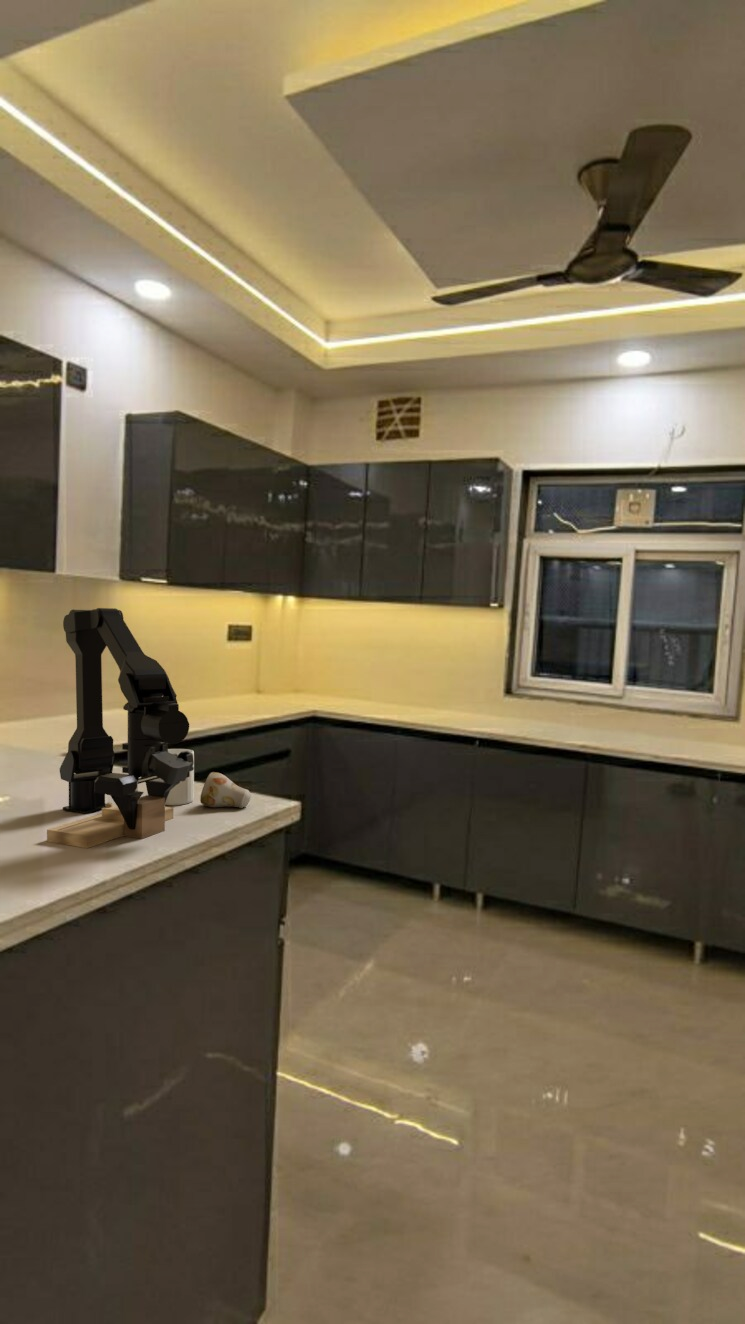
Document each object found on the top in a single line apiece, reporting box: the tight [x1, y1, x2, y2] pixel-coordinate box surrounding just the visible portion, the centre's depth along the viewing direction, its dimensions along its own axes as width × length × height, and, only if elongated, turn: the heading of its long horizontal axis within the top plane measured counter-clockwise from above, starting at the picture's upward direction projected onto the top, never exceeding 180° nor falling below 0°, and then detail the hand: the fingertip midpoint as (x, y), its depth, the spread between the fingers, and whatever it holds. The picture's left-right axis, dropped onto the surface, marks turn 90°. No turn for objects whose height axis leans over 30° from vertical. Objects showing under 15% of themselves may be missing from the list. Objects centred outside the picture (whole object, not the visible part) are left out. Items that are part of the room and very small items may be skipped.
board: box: [46, 806, 174, 849], centre depth 135 cm, size 9×22×2 cm, turn 156°
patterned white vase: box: [199, 771, 252, 809], centre depth 153 cm, size 8×10×10 cm
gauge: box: [101, 794, 166, 840], centre depth 134 cm, size 11×6×6 cm, turn 67°
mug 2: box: [165, 748, 195, 806], centre depth 159 cm, size 12×8×10 cm, turn 12°
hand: (144, 824), depth 133 cm, fingers closed on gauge, 6 cm apart
